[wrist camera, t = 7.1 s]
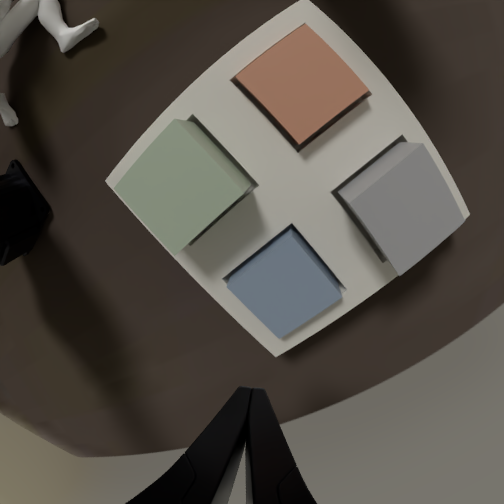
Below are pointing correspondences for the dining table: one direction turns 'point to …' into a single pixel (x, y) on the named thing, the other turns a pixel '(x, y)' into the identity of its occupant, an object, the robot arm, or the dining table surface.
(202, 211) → the key sage
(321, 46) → the key terracotta
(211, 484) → the robot arm
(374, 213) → the key grey
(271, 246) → the key slate
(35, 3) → the person figurine
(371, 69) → the keypad
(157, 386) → the dining table surface
